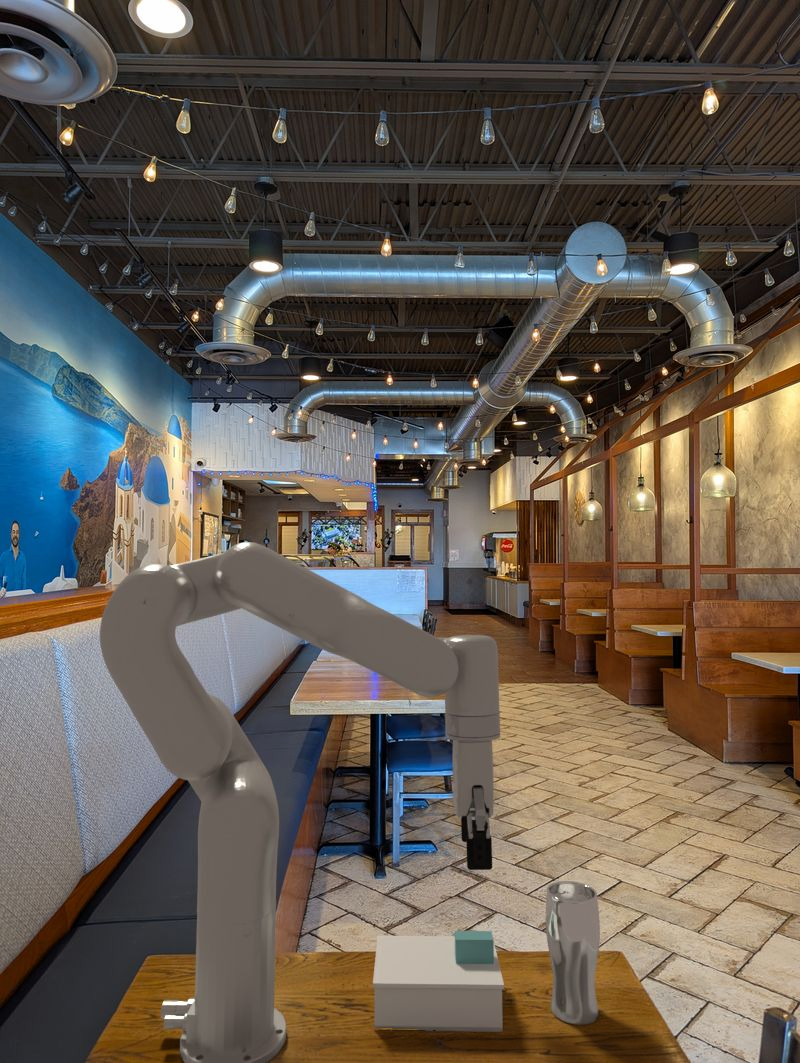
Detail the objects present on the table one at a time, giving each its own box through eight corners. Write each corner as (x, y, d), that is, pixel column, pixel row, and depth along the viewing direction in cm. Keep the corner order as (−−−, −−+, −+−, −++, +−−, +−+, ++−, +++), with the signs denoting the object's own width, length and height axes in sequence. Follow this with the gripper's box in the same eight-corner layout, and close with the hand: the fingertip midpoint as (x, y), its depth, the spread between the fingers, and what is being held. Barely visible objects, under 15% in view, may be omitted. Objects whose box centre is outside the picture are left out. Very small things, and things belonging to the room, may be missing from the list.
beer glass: (610, 1026, 85) (606, 902, 86) (555, 1028, 85) (553, 903, 86) (591, 994, 92) (588, 879, 93) (541, 996, 92) (539, 880, 93)
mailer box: (374, 1030, 84) (374, 987, 85) (378, 980, 95) (378, 943, 96) (502, 1031, 84) (502, 989, 84) (492, 981, 95) (491, 944, 95)
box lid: (372, 987, 84) (372, 958, 85) (377, 939, 96) (377, 913, 97) (504, 989, 84) (503, 959, 84) (492, 940, 96) (492, 914, 96)
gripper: (442, 714, 102) (445, 832, 100) (448, 739, 85) (452, 881, 83) (492, 714, 102) (495, 831, 100) (508, 738, 84) (513, 881, 83)
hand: (476, 854), depth 91 cm, fingers open, 9 cm apart
